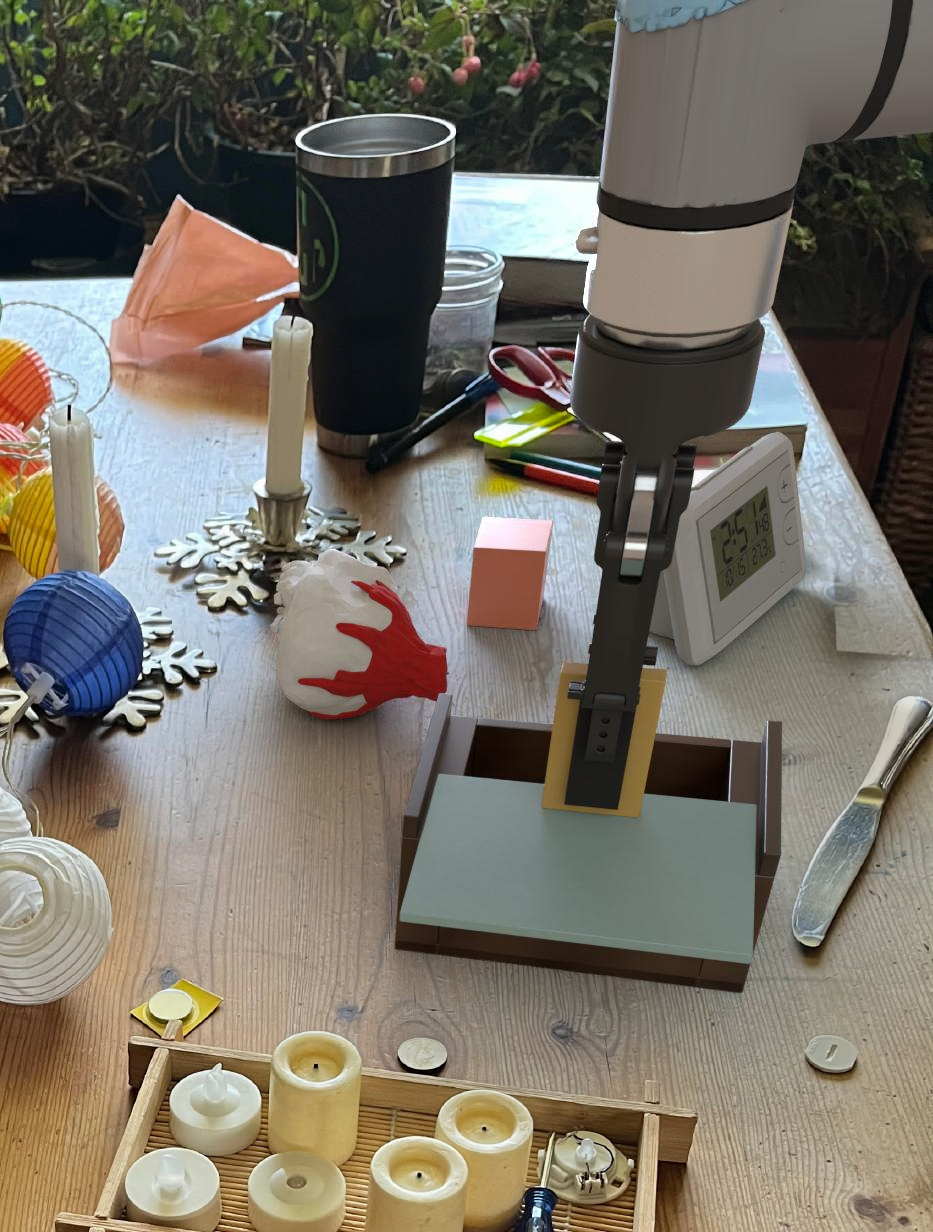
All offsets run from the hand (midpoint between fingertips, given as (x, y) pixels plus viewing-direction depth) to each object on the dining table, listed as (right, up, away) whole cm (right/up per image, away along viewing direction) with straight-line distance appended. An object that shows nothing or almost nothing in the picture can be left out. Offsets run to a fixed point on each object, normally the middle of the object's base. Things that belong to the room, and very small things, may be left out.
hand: (593, 792), depth 82 cm
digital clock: (+19, +18, +30) cm, 40 cm away
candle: (-9, +12, +27) cm, 30 cm away
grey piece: (-1, -4, -2) cm, 5 cm away
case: (+2, -5, +9) cm, 10 cm away
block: (+4, +20, +33) cm, 39 cm away
